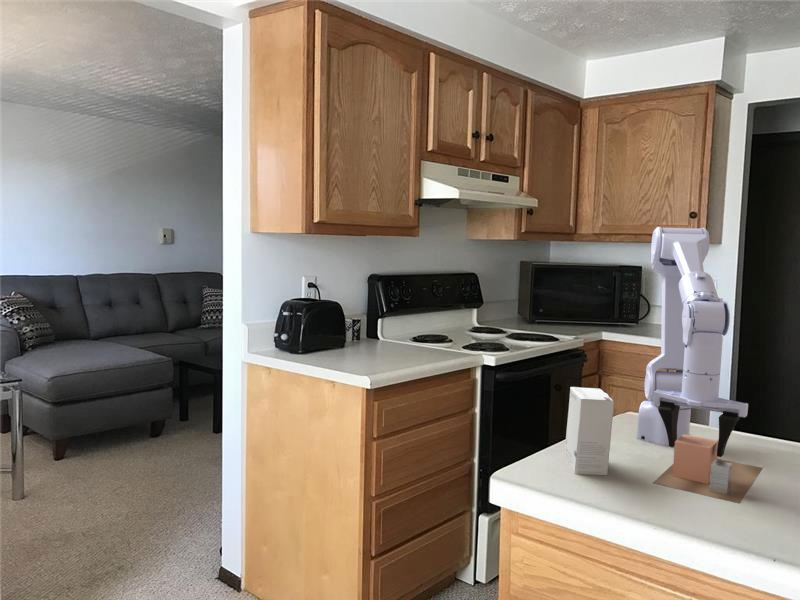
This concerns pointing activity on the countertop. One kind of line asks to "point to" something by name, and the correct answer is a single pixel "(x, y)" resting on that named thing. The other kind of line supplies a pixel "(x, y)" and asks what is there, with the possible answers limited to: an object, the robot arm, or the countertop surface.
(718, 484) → the white sugar cube
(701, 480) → the salmon pink cube
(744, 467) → the board
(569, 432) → the skincare box
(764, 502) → the countertop surface
